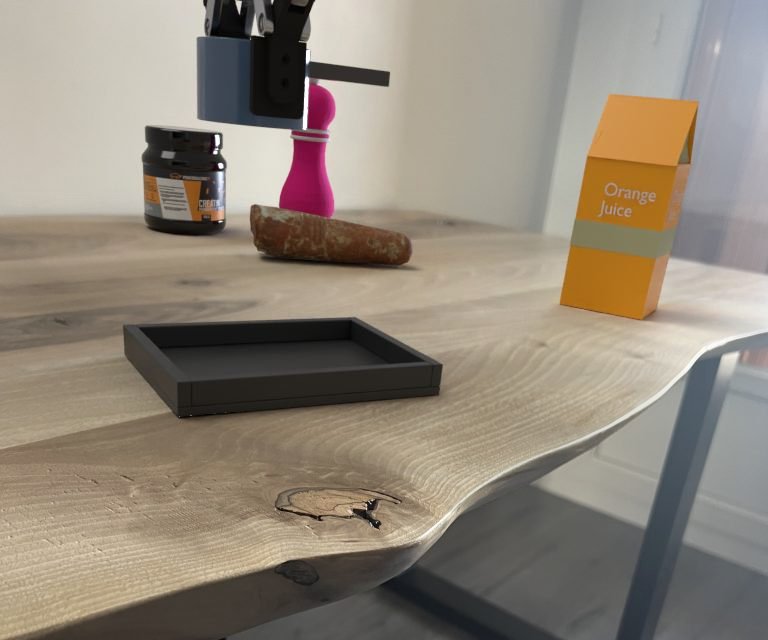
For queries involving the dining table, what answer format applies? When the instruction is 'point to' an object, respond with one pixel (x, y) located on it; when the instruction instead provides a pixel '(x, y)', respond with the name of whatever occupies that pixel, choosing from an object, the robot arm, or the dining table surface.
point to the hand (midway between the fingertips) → (252, 110)
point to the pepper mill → (311, 159)
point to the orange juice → (629, 205)
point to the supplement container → (184, 180)
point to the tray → (275, 364)
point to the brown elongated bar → (325, 238)
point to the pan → (232, 83)
